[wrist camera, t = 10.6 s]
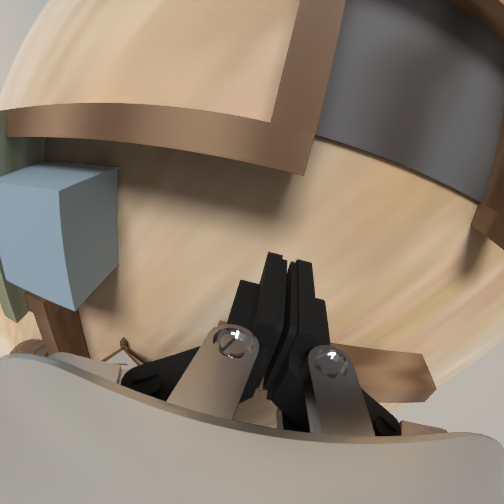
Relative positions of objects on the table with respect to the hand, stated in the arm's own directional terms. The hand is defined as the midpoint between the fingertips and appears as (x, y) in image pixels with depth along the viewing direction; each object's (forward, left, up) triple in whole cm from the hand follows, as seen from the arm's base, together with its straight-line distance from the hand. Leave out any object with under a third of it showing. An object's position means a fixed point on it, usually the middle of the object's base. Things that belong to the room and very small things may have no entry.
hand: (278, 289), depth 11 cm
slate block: (+12, +1, -4) cm, 13 cm away
